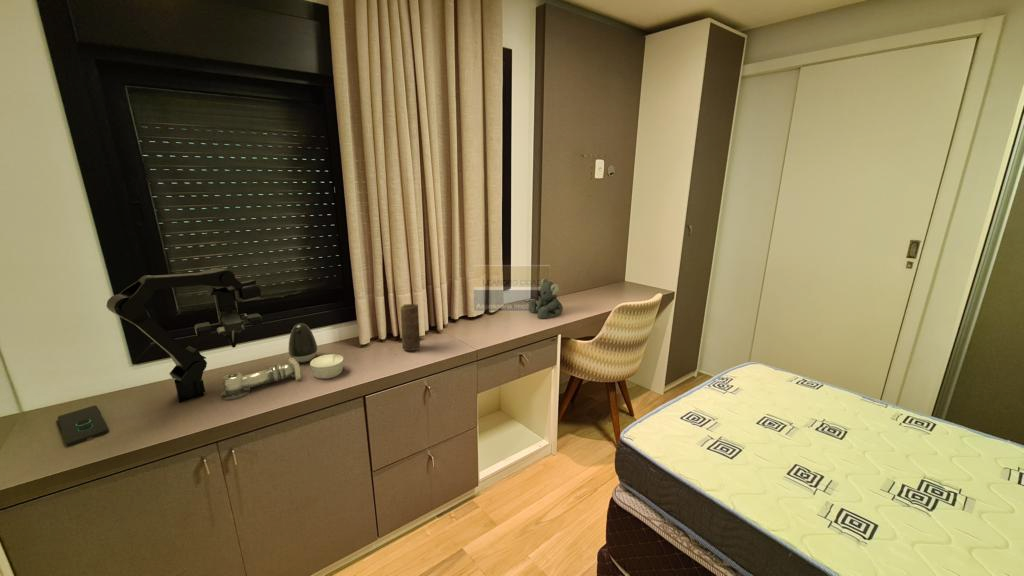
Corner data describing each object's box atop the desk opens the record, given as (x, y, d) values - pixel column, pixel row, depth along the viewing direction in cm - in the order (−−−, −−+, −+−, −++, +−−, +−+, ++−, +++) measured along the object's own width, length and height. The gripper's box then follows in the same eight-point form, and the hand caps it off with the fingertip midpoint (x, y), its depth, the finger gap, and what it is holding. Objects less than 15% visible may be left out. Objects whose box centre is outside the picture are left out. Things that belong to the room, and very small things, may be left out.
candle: (415, 353, 163) (413, 308, 158) (399, 352, 164) (396, 307, 159) (423, 346, 170) (421, 303, 165) (407, 345, 171) (405, 301, 166)
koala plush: (526, 310, 222) (527, 277, 217) (553, 307, 229) (555, 275, 224) (540, 320, 207) (541, 284, 202) (569, 316, 214) (571, 282, 209)
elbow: (227, 398, 126) (224, 380, 124) (224, 392, 129) (221, 374, 128) (279, 382, 136) (277, 366, 134) (275, 377, 140) (273, 361, 138)
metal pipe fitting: (223, 402, 124) (220, 385, 123) (219, 393, 130) (215, 376, 128) (301, 379, 140) (299, 364, 138) (294, 372, 145) (292, 357, 144)
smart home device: (65, 443, 102) (56, 416, 113) (66, 449, 102) (57, 421, 114) (109, 428, 108) (96, 404, 120) (111, 433, 109) (98, 409, 120)
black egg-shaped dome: (286, 366, 149) (281, 329, 145) (293, 355, 159) (288, 320, 155) (315, 364, 152) (311, 327, 148) (320, 353, 162) (316, 318, 158)
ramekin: (350, 371, 147) (349, 358, 145) (323, 383, 137) (321, 370, 136) (333, 364, 152) (332, 351, 151) (305, 374, 143) (303, 361, 142)
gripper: (194, 316, 121) (203, 362, 125) (263, 304, 134) (270, 347, 138) (190, 308, 129) (199, 351, 133) (256, 298, 141) (262, 338, 145)
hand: (233, 347), depth 137 cm, fingers closed
